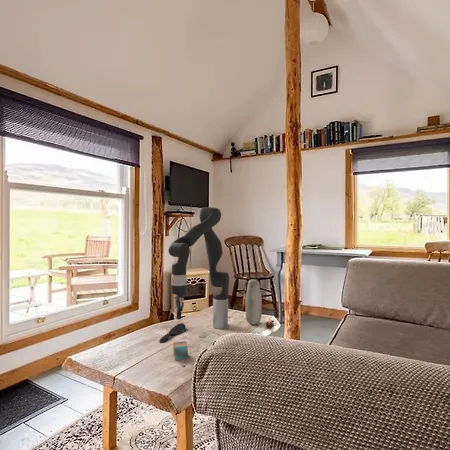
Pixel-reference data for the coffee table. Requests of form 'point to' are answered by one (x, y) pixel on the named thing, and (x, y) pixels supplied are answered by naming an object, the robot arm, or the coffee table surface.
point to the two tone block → (180, 350)
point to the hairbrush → (174, 331)
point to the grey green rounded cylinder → (253, 302)
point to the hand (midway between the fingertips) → (178, 318)
